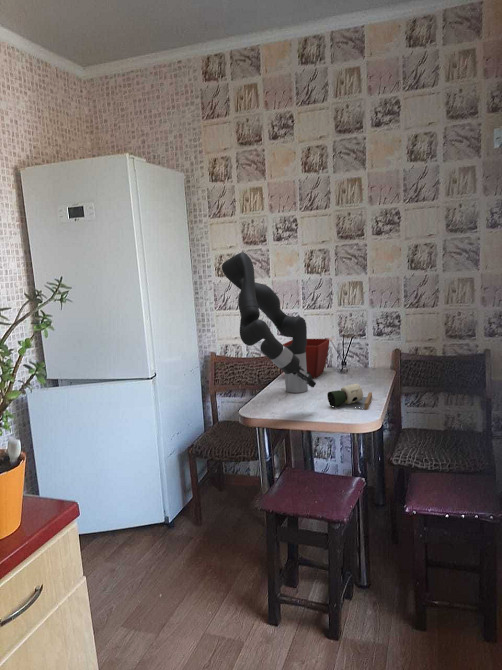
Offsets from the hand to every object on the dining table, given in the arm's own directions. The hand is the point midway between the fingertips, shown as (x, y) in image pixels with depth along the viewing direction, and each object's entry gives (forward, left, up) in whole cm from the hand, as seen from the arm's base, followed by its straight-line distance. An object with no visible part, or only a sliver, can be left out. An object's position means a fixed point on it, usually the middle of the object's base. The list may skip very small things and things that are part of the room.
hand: (313, 385), depth 206 cm
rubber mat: (+13, +11, -10) cm, 20 cm away
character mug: (+5, +4, -7) cm, 9 cm away
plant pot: (-16, +59, -10) cm, 62 cm away
